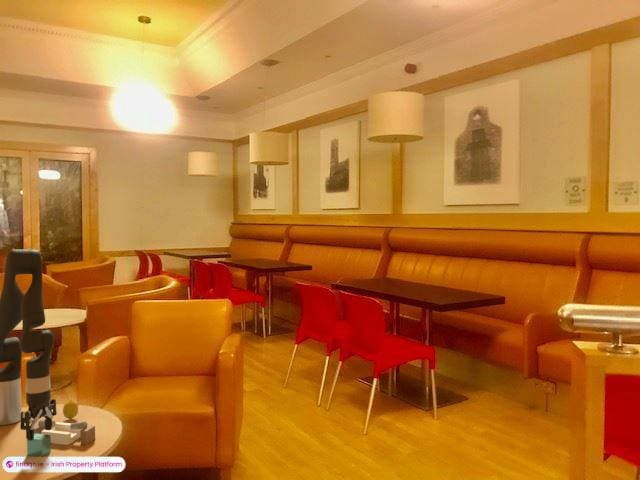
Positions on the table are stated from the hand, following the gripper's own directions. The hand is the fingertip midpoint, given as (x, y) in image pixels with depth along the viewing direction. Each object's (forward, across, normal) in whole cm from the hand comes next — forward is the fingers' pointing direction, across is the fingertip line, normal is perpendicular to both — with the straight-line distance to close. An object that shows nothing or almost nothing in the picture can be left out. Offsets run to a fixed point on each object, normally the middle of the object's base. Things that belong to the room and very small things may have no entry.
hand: (39, 434), depth 182 cm
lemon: (+6, -28, -9) cm, 30 cm away
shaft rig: (+6, -12, 0) cm, 14 cm away
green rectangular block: (+7, 0, 0) cm, 7 cm away
